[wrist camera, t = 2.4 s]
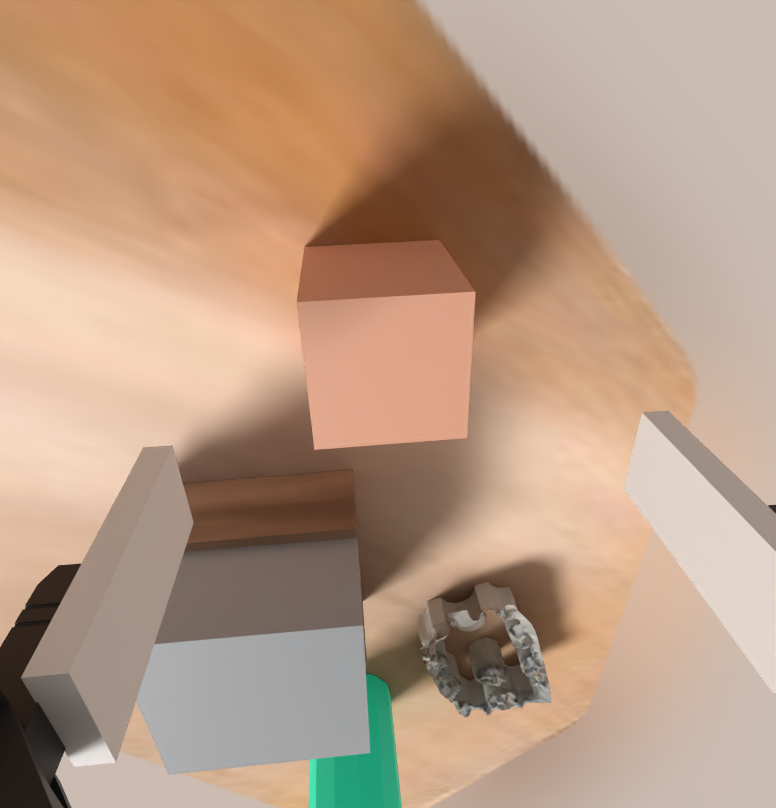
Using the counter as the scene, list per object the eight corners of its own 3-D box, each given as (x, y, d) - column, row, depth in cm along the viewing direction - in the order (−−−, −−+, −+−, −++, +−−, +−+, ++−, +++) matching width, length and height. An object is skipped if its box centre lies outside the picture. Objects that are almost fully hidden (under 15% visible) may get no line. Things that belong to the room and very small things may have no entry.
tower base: (153, 481, 30) (123, 548, 26) (352, 466, 31) (356, 528, 26) (194, 613, 36) (176, 686, 31) (362, 597, 36) (366, 666, 32)
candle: (334, 727, 43) (335, 928, 33) (297, 689, 40) (286, 897, 30) (402, 702, 42) (426, 901, 32) (370, 662, 39) (385, 867, 29)
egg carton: (407, 598, 37) (415, 653, 33) (514, 568, 36) (534, 619, 33) (445, 685, 42) (455, 739, 39) (539, 659, 42) (558, 712, 38)
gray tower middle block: (148, 554, 26) (113, 647, 22) (357, 538, 27) (363, 625, 22) (190, 679, 31) (168, 774, 27) (364, 662, 32) (370, 753, 28)
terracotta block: (304, 246, 24) (296, 302, 18) (439, 239, 24) (475, 291, 18) (317, 368, 27) (314, 449, 21) (436, 359, 27) (467, 437, 21)
